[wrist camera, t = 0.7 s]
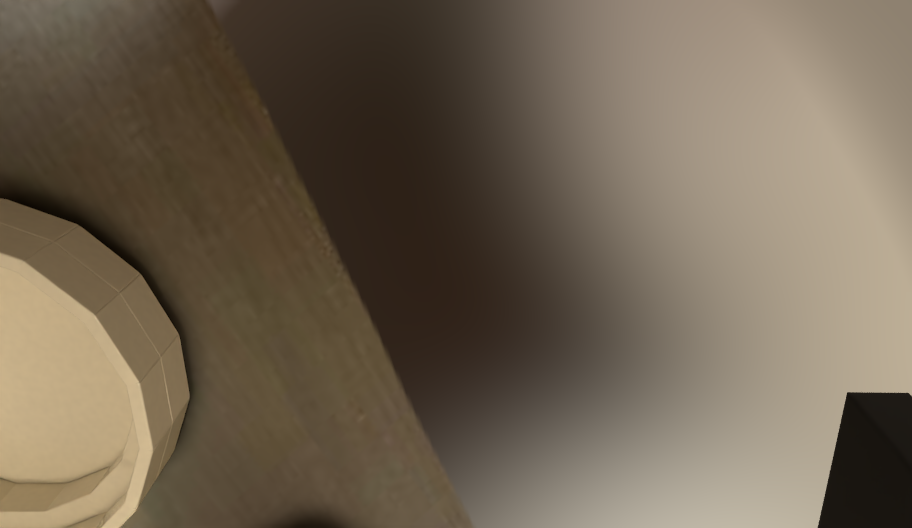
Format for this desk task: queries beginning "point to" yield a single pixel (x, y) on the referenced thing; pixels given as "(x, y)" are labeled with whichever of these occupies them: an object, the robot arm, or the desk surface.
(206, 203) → the desk surface
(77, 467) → the bowl
